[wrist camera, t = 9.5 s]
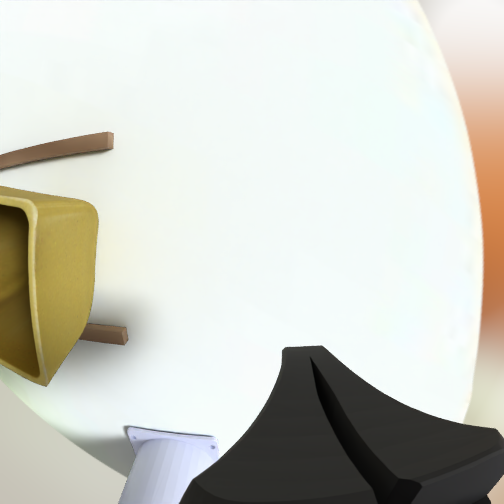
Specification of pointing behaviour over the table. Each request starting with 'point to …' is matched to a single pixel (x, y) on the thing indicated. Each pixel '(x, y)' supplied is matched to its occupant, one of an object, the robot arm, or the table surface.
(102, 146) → the brown wooden open-sided frame
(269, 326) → the table surface
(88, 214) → the flower pot
